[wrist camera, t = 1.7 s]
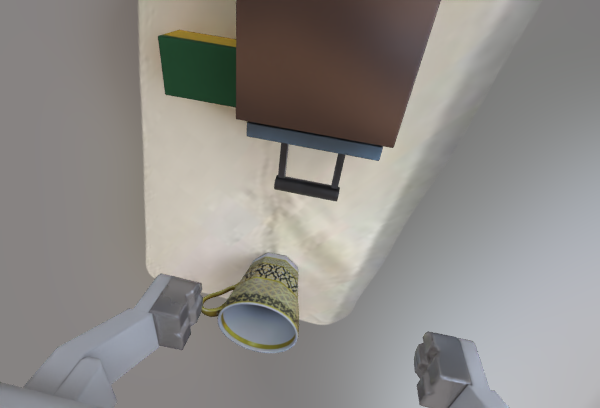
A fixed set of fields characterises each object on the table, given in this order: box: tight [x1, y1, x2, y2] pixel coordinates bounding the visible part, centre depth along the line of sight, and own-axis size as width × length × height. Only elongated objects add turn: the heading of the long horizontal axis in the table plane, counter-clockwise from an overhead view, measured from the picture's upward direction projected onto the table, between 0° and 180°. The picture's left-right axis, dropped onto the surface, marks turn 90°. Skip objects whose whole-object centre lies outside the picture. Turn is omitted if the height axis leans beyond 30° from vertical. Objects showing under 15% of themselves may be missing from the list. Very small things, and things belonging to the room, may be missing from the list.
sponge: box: [158, 30, 236, 107], centre depth 30 cm, size 5×7×4 cm
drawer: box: [247, 121, 383, 201], centre depth 27 cm, size 19×11×7 cm, turn 173°
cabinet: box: [236, 0, 441, 148], centre depth 24 cm, size 15×12×9 cm
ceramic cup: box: [201, 253, 299, 353], centre depth 43 cm, size 13×10×10 cm
